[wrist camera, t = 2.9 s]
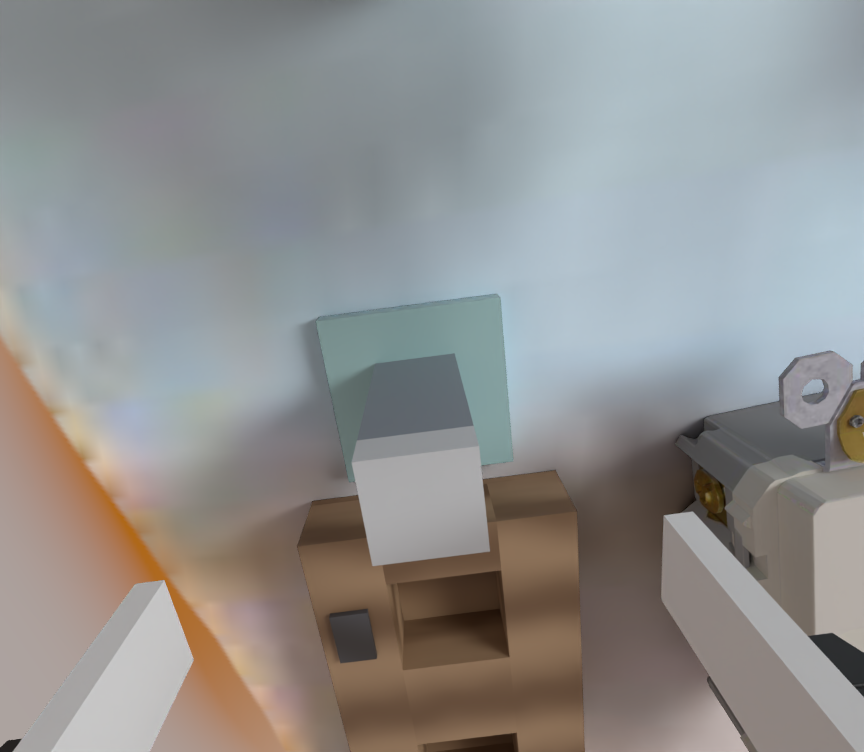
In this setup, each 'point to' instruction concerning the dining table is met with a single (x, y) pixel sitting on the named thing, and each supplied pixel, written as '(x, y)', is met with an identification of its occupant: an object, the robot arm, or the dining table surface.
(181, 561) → the dining table surface
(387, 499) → the plug
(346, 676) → the socket board
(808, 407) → the electrical outlet
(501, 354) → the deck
